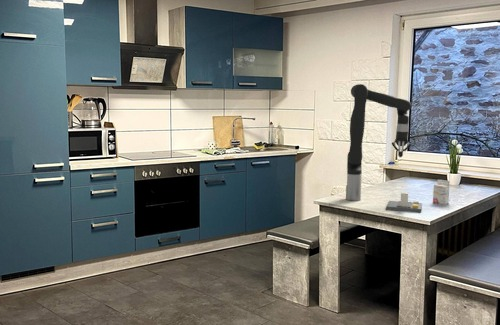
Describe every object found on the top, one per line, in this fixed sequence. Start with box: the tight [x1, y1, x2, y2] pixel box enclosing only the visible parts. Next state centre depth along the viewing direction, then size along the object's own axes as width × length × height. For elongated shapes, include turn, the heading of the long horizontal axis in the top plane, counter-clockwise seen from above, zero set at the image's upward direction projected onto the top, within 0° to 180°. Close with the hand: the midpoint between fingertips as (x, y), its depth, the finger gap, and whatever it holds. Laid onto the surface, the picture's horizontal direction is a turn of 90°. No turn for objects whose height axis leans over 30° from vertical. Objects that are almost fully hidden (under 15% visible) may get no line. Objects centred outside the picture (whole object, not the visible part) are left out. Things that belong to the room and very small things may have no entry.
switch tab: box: [400, 191, 409, 207], centre depth 303 cm, size 4×4×8 cm
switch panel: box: [385, 200, 423, 213], centre depth 308 cm, size 20×18×4 cm
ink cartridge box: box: [432, 179, 450, 205], centre depth 322 cm, size 9×5×15 cm, turn 44°
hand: (400, 157), depth 330 cm, fingers closed
